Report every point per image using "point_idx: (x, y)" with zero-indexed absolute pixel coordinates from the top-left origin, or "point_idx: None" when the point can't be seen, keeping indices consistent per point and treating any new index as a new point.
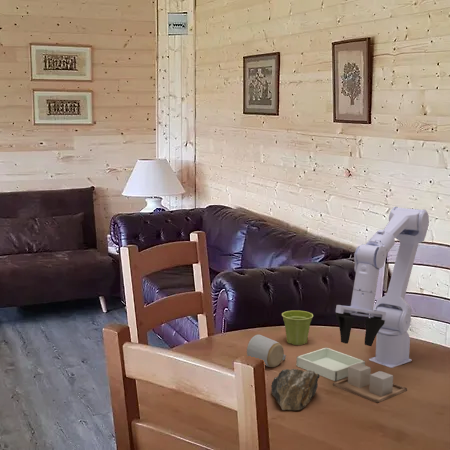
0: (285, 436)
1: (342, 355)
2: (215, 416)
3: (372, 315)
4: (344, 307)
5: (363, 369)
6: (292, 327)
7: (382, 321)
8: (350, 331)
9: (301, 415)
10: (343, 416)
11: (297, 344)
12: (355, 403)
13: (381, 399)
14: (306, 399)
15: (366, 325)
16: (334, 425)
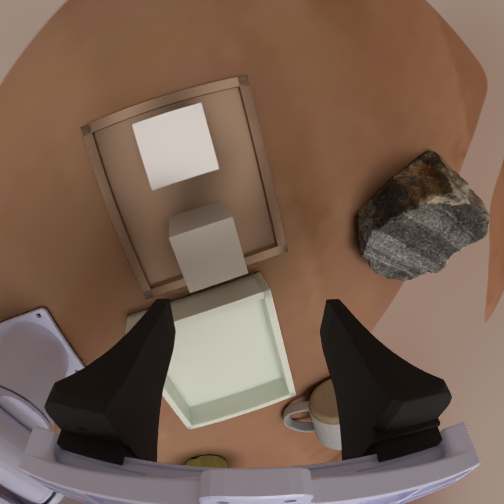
0: (475, 87)
1: (167, 390)
2: (498, 208)
3: (134, 472)
4: (460, 465)
5: (210, 228)
6: None
7: (69, 397)
8: (351, 340)
9: (432, 134)
10: (369, 72)
11: (213, 456)
12: (297, 115)
13: (223, 80)
14: (416, 171)
15: (156, 424)
16: (405, 55)
